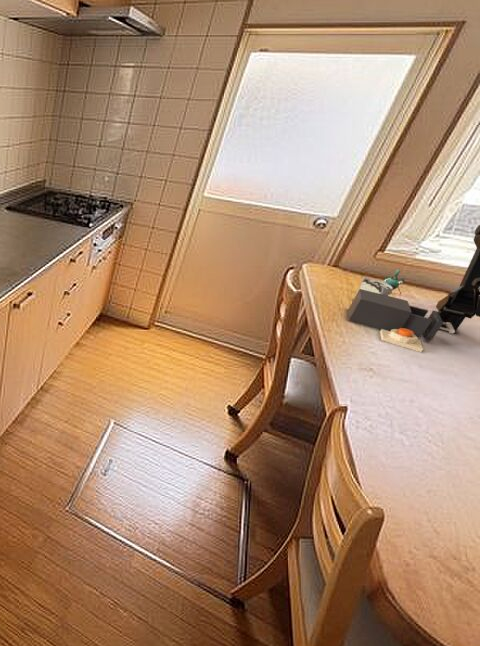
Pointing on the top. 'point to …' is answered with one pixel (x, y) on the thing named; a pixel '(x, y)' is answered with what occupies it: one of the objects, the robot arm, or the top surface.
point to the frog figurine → (394, 281)
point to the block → (401, 339)
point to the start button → (405, 332)
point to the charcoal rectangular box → (378, 311)
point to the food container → (375, 286)
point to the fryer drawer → (425, 323)
